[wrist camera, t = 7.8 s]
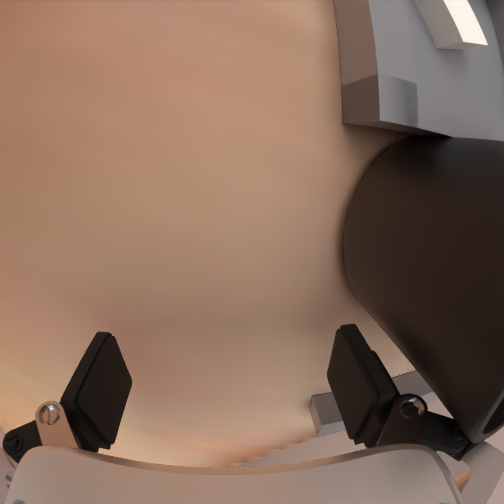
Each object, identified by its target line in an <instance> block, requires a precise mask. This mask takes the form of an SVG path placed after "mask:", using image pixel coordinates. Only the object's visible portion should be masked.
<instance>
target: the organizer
mask: <svg viewBox="0 0 504 504" xmlns="http://www.w3.org/2000/svg"><path fill="white" fill-rule="evenodd" d="M333 1H334V8H335V16H336V24H337V33H338V43H339V54H340V68H341V87H342V123H345V124H354V125H362V126H369V127H376V128H383V129H389V130H395V131H400V132H406V133H411V134H416V135H421V136H425V137H453V138H457V137H461V138H477V139H489V140H499V141H504V0H467V1H468V3H469V5H470V7H471V9H472V11H473V12H474V15H475V17H476V19H477V21H478V23H479V25H480V27H481V29H482V32H483V34H484V36H485V39H486V41H487V44H488V46H481V47H475V48H469V49H464V50H460V49H442V48H436V45H435V43H434V40H433V38H432V36H431V34H430V31H429V29H428V27H427V25H426V23H425V21H424V19H423V17H422V15H421V13H420V11H419V9H418V7H417V6H416V4H415V2H414V0H333ZM392 380H393V382H394V384H395V385H396V387H397V389H398V391H399V392H400V394H401V395H403V394H407V393H411V394H416V395H418V396H420V397H421V398H423V399H424V401H425V402H426V404H427V403H429V402H431V401H433V400H435V399H438V397H437V395H436V394H435V393H434V392H433V390H432V389H431V388H430V386H429V385H428V384H427V383H426V381H425V380H424V379H423V378H422V376H421V375H420V374H419V373H418V371H417V370H416V371H413V372H410V373H407V374H404V375H401V376H397V377H394V378H392ZM310 412H311V415H312V419H313V422H314V426H315V429H316V433H317V436H323V435H328V434H332V433H337V432H341V431H345V430H346V428H345V426H344V423H343V420H342V417H341V414H340V412H339V409H338V406H337V403H336V401H335V398H334V395H333V393H327V394H322V395H316V396H312V401H311V405H310Z"/></svg>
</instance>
